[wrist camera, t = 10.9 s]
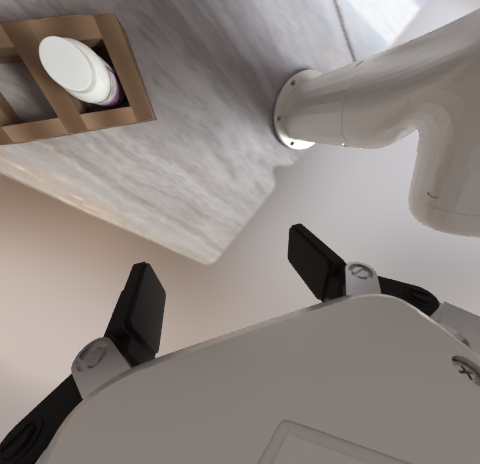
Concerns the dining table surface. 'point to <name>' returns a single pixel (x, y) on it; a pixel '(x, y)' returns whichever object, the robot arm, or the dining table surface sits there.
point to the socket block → (63, 103)
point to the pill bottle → (81, 71)
